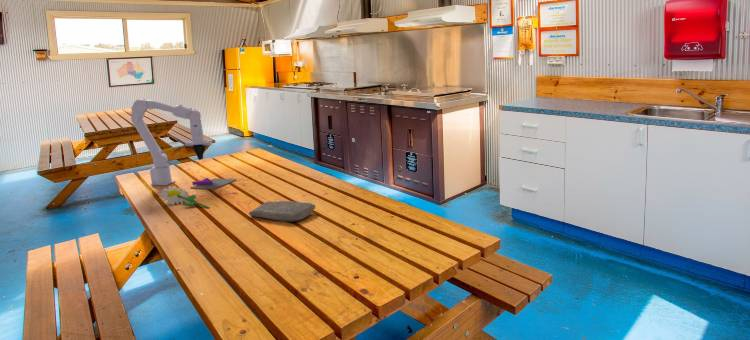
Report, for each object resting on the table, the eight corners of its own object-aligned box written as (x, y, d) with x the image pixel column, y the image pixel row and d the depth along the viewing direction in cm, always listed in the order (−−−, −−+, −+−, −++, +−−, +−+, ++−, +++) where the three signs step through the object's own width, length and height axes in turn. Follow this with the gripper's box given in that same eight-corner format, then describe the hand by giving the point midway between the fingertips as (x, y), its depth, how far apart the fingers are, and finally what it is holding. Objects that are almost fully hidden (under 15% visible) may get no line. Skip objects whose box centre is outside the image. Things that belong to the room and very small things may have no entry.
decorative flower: (221, 209, 226) (179, 192, 242) (220, 198, 224) (178, 182, 240) (196, 219, 216) (154, 201, 232) (195, 208, 215) (153, 191, 231)
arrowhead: (194, 182, 266) (191, 187, 256) (194, 179, 265) (191, 183, 256) (214, 179, 268) (213, 184, 258) (214, 176, 267) (212, 181, 258)
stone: (318, 202, 204) (296, 214, 191) (319, 213, 205) (297, 225, 192) (265, 198, 216) (241, 208, 202) (266, 208, 217) (242, 219, 203)
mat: (190, 188, 255) (190, 187, 255) (214, 179, 271) (214, 178, 271) (213, 189, 250) (213, 188, 250) (236, 180, 266) (236, 179, 266)
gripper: (180, 135, 266) (183, 161, 269) (205, 134, 263) (209, 160, 266) (187, 132, 273) (191, 158, 276) (212, 132, 269) (216, 157, 273)
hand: (200, 159), depth 271 cm, fingers closed
